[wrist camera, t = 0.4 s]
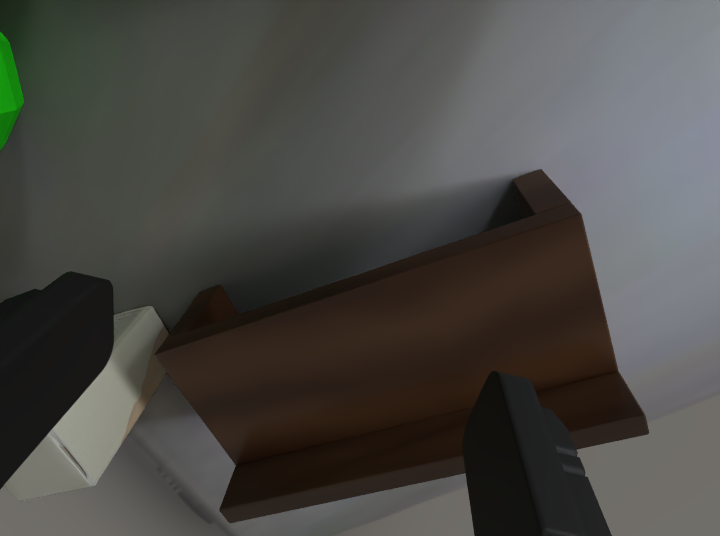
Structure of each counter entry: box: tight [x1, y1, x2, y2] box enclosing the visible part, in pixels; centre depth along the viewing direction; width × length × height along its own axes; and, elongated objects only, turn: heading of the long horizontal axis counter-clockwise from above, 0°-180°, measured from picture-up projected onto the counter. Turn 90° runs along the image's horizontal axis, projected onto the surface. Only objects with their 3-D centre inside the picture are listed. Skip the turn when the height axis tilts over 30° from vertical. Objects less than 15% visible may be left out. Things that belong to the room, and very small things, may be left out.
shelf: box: [154, 169, 649, 523], centre depth 26 cm, size 10×22×10 cm, turn 113°
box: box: [4, 306, 169, 501], centre depth 28 cm, size 5×4×11 cm
